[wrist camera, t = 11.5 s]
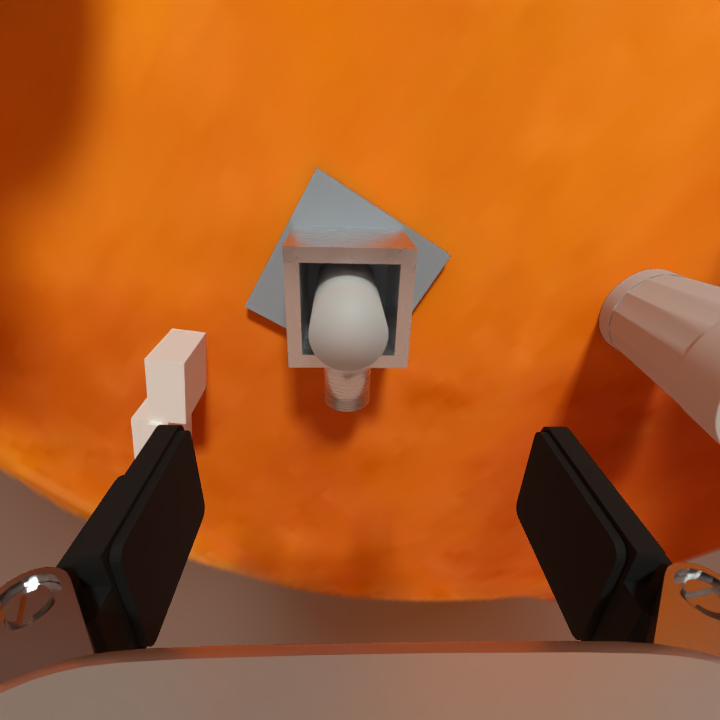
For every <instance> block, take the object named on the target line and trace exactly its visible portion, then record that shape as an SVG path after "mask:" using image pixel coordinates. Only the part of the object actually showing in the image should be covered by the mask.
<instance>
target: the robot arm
mask: <svg viewBox="0 0 720 720" xmlns="http://www.w3.org/2000/svg"><path fill="white" fill-rule="evenodd" d="M516 509H517V515H518V518H519V520H520V522H521V524H522V527H523V529H524V531H525V533H526V535H527V537H528V540H529V542H530V544H531V546H532V548H533V550H534V553H535V555H536V557H537V559H538V561H539V564H540V566H541V568H542V570H543V572H544V574H545V577H546V579H547V581H548V583H549V585H550V587H551V590H552V592H553V594H554V596H555V598H556V600H557V603H558V605H559V607H560V609H561V611H562V613H563V616H564V618H565V620H566V622H567V624H568V627H569V629H570V630H571V633H572V635H573V636H574V637H575V639H577V640H581V641H491V642H490V641H486V642H485V641H484V642H403V643H402V642H401V643H336V644H288V645H287V644H284V645H239V646H238V645H236V646H200V647H174V648H150V649H146V647H147V646H152V645H154V643H155V642H156V640H157V637H158V635H159V632H160V629H161V627H162V624H163V621H164V619H165V616H166V614H167V611H168V608H169V606H170V603H171V601H172V598H173V595H174V593H175V590H176V587H177V585H178V582H179V580H180V577H181V574H182V572H183V569H184V567H185V564H186V561H187V559H188V556H189V553H190V551H191V548H192V546H193V543H194V540H195V538H196V535H197V532H198V530H199V527H200V525H201V522H202V519H203V516H204V510H205V505H204V499H203V493H202V488H201V483H200V478H199V473H198V467H197V462H196V457H195V452H194V446H193V441H192V436H191V432H190V431H189V430H184V427H183V426H182V425H158V426H157V427H156V428H155V430H154V431H153V433H152V434H151V436H150V437H149V439H148V440H147V442H146V443H145V445H144V446H143V448H142V449H141V451H140V452H139V454H138V455H137V457H136V458H135V460H134V461H133V463H132V464H131V466H130V467H129V469H128V470H127V472H126V473H125V475H122V476H120V477H118V478H117V479H116V481H115V482H114V483H113V485H112V486H111V488H110V489H109V490H108V492H107V493H106V495H105V496H104V498H103V499H102V501H101V502H100V504H99V505H98V507H97V508H96V509H95V511H94V512H93V514H92V515H91V517H90V518H89V520H88V521H87V523H86V524H85V526H84V527H83V528H82V530H81V531H80V533H79V534H78V536H77V537H76V539H75V540H74V542H73V543H72V545H71V546H70V547H69V549H68V550H67V552H66V554H65V555H64V556H63V558H62V559H61V561H60V562H59V564H58V565H57V566H56V567H43V568H38V569H34V570H31V571H28V572H26V573H23V574H21V575H19V576H17V577H15V578H14V579H12V580H10V581H9V582H7V583H6V584H5V585H3V586H2V587H1V588H0V720H720V575H719V574H717V573H715V572H713V571H712V570H710V569H708V568H705V567H702V566H700V565H697V564H693V563H688V562H678V563H674V564H672V562H671V561H670V560H669V559H668V557H667V556H666V555H665V552H664V550H663V549H662V548H661V546H660V545H659V544H658V543H657V541H656V540H655V539H654V537H653V536H652V535H651V534H650V532H649V531H648V530H647V528H646V527H645V526H644V525H643V523H642V522H641V521H640V520H639V518H638V517H637V516H636V514H635V513H634V512H633V511H632V509H631V508H630V507H629V505H628V504H627V503H626V502H625V500H624V499H623V498H622V496H621V495H620V494H619V493H618V491H617V490H616V489H615V487H614V486H613V485H612V484H611V482H610V481H609V480H608V478H607V477H606V476H605V475H604V473H603V472H602V471H601V469H600V468H599V467H598V466H597V464H596V463H595V462H594V461H593V459H592V458H591V457H590V455H589V454H588V453H587V452H586V450H585V449H584V448H583V446H582V445H581V444H580V443H579V441H578V440H577V439H576V437H575V436H574V435H573V434H572V432H571V431H570V430H569V429H568V428H567V427H543V429H542V430H541V432H537V433H536V434H535V437H534V440H533V444H532V448H531V452H530V455H529V459H528V463H527V466H526V470H525V474H524V478H523V481H522V485H521V489H520V493H519V496H518V500H517V505H516Z"/></svg>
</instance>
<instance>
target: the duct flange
mask: <svg viewBox="0 0 720 720" xmlns="http://www.w3.org/2000/svg"><path fill="white" fill-rule="evenodd" d="M294 226H308V227H355V228H401V229H403V230H404V232H405V233H406V234H407V235H408V237H409V238H410V239H411V241H412V242H413V243H414V245H415V246H416V247H417V249H418V252H417V264H416V275H415V286H414V298H413V309H412V311H413V310H414V308H415V307H416V305H417V304H418V303H419V301H420V300H421V298H422V297H423V295H424V294H425V293H426V291H427V290H428V288H429V287H430V285H431V284H432V283H433V281H434V280H435V278H436V277H437V275H438V274H439V272H440V271H441V270H442V268H443V267H444V265H445V264H446V262H447V261H448V260H449V258H450V257H451V255H449V254H448V253H447V252H446V251H444V250H443V249H441V248H440V247H438V246H437V245H435V244H434V243H432V242H431V241H429V240H427V239H426V238H424V237H423V236H421V235H420V234H418V233H417V232H415V231H414V230H412V229H411V228H409V227H408V226H406V225H404V224H403V223H401V222H400V221H398V220H397V219H395V218H394V217H392V216H391V215H389V214H388V213H386V212H385V211H383V210H382V209H380V208H378V207H377V206H375V205H374V204H372V203H371V202H369V201H368V200H366V199H365V198H363V197H362V196H360V195H359V194H357V193H355V192H354V191H352V190H351V189H349V188H348V187H346V186H345V185H343V184H342V183H340V182H339V181H337V180H336V179H334V178H333V177H331V176H329V175H328V174H326V173H325V172H323V171H322V170H320V169H319V168H316V170H315V172H314V174H313V176H312V178H311V180H310V182H309V184H308V186H307V188H306V190H305V191H304V193H303V195H302V197H301V199H300V201H299V203H298V205H297V207H296V209H295V211H294V213H293V215H292V217H291V218H290V220H289V222H288V224H287V226H286V228H285V230H284V232H283V234H282V236H281V238H280V240H279V242H278V244H277V245H276V247H275V249H274V251H273V253H272V255H271V257H270V259H269V261H268V263H267V265H266V267H265V269H264V271H263V272H262V274H261V276H260V278H259V280H258V282H257V284H256V286H255V288H254V290H253V292H252V294H251V296H250V298H249V299H248V301H247V303H246V305H245V307H246V308H248V309H250V310H252V311H254V312H256V313H258V314H259V315H261V316H263V317H265V318H267V319H269V320H271V321H273V322H275V323H277V324H279V325H280V326H282V327H284V328H286V310H285V292H284V274H283V255H282V246H283V244H284V242H285V240H286V239H287V237H288V235H289V234H290V232H291V230H292V228H293V227H294ZM386 282H387V264H346V263H308V291H309V317H311V319H310V325H309V332H308V337H309V343H310V346H311V349H312V351H313V352H314V354H315V355H316V357H317V358H318V359H319V360H320V361H321V362H323V363H324V364H325V365H327V366H329V367H331V368H333V369H337V370H341V371H355V370H360V369H363V368H365V367H368V366H369V365H371V364H372V363H374V362H375V361H376V360H377V359H378V358H379V357H380V356H381V355H382V353H383V352H384V350H385V348H386V346H387V342H388V326H387V322H386V318H385V299H386ZM371 370H372V368H371Z"/></svg>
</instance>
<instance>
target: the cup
mask: <svg viewBox="0 0 720 720" xmlns="http://www.w3.org/2000/svg"><path fill="white" fill-rule="evenodd" d="M599 329H600V332H601V335H602V337H603V338H604V340H605V341H606V342H607V343H608V344H610V345H611V346H612V347H614V348H615V349H616V350H618V351H619V352H621V353H622V354H624V355H625V356H626V357H627V358H628V359H629V360H630V361H632V362H633V363H634V364H635V365H636V366H637V367H638V368H639V369H640V370H641V371H643V372H644V373H645V374H646V375H647V376H648V377H649V378H650V379H651V380H652V381H654V382H655V383H656V384H657V385H658V386H659V387H660V388H661V389H662V390H664V391H665V392H666V393H667V394H668V395H669V396H670V397H671V398H672V399H673V400H675V401H676V402H677V403H678V404H679V405H680V406H681V408H682V409H683V410H684V411H685V412H686V413H687V414H688V415H689V416H690V417H691V418H692V419H693V420H694V421H695V422H696V423H697V424H698V425H699V426H700V427H701V428H703V429H704V430H705V431H706V432H707V433H708V434H709V435H710V436H711V437H712V438H713V439H714V440H715V441H716V442H717V443H718V444H719V445H720V287H719V286H715V285H711V284H707V283H704V282H700V281H696V280H692V279H689V278H685V277H683V276H680V275H678V274H675V273H672V272H670V271H667V270H663V269H650V270H645V271H641V272H638V273H636V274H633V275H631V276H630V277H628V278H626V279H625V280H623V281H622V282H621V283H619V284H618V285H617V286H616V287H615V288H614V289H613V290H612V291H611V293H610V294H609V295H608V297H607V298H606V300H605V302H604V304H603V306H602V308H601V311H600V315H599Z"/></svg>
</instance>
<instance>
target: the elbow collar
mask: <svg viewBox="0 0 720 720" xmlns="http://www.w3.org/2000/svg"><path fill="white" fill-rule="evenodd" d="M417 252H418V249H417V247H416V246H415V245H414V243H413V242H412V241H411V239H410V238H409V237H408V235H407V234H406V233H405V232H404V230H403V229H401V228H355V227H308V226H294V227H293V228H292V230H291V232H290V234H289V235H288V237H287V239H286V240H285V242H284V244H283V246H282V255H283V274H284V292H285V310H286V329H287V347H288V365H289V368H324V401H325V403H326V405H327V406H328V407H330V408H332V409H334V410H338V411H344V412H351V411H357V410H360V409H362V408H364V407H366V406H367V405H368V403H369V400H370V378H371V368H407V366H408V354H409V343H410V332H411V320H412V309H413V298H414V286H415V275H416V264H417ZM308 263H346V264H387V282H386V299H385V318H386V322H387V326H388V342H387V346H386V348H385V350H384V352H383V353H382V355H381V356H380V357H379V358H378V359H377V360H376V361H375V362H374V363H372V364H371V365H369V366H368V367H365V368H363V369H360V370H355V371H341V370H337V369H333V368H331V367H329V366H327V365H325V364H324V363H323V362H321V361H320V360H319V359H318V358H317V357H316V355H315V354H314V352H313V351H312V349H311V346H310V343H309V337H308V332H309V325H310V319H311V317H309V291H308Z"/></svg>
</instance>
